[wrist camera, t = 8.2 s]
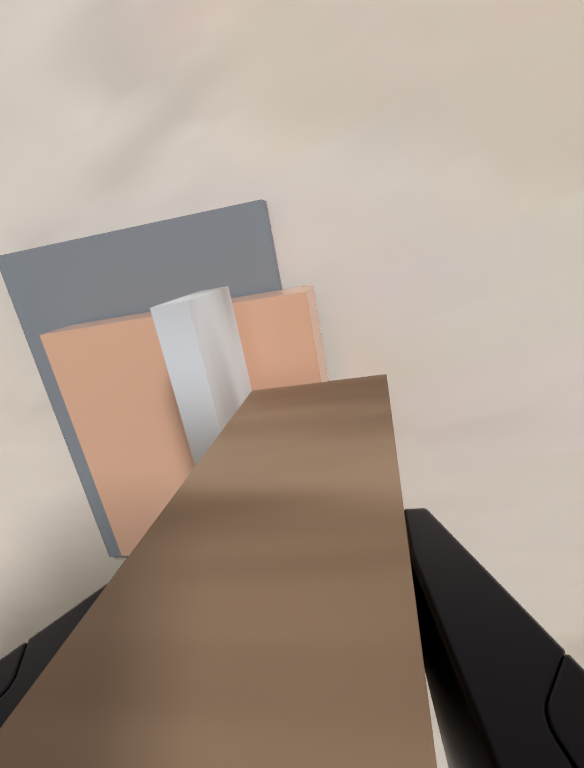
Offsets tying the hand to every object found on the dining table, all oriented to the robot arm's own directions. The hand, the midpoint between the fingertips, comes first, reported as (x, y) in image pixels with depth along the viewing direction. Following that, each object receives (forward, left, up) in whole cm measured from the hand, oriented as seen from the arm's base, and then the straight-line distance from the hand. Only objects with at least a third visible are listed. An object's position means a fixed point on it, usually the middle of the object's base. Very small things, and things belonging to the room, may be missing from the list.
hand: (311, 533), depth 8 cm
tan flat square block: (0, 0, -5) cm, 5 cm away
